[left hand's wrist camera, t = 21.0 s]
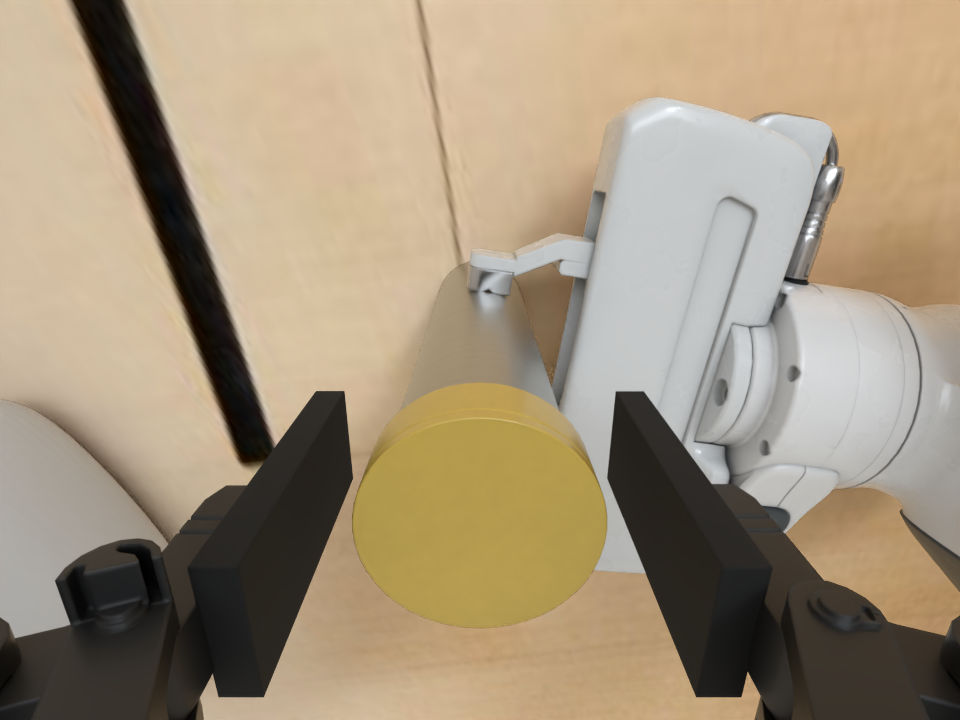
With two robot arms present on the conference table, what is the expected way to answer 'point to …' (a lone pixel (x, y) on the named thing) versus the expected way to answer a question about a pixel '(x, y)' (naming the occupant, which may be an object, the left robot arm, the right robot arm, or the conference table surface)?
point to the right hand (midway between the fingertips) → (459, 336)
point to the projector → (52, 516)
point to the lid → (479, 507)
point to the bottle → (478, 342)
